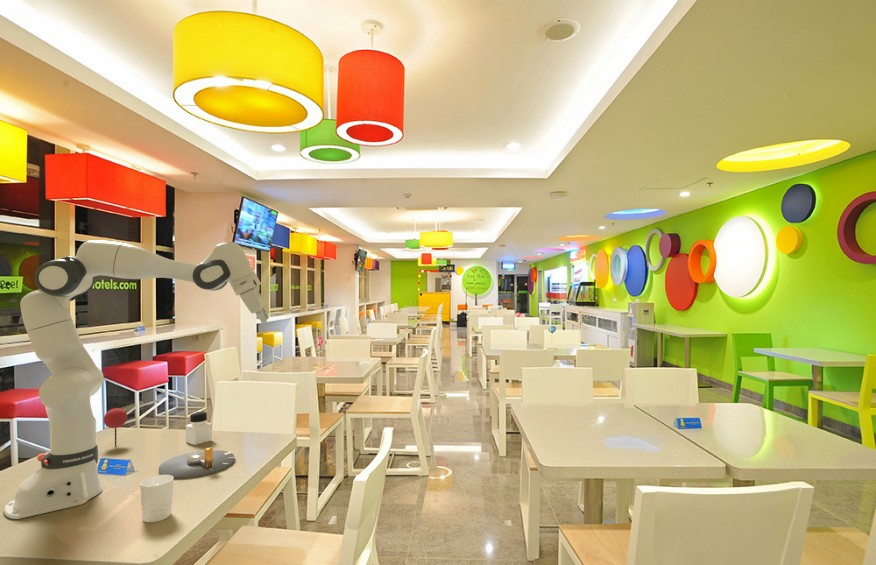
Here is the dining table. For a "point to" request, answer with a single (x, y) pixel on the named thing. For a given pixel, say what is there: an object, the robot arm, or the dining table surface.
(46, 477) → the robot arm
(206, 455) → the dial
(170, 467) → the dial plate
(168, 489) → the white cup
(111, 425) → the lollipop
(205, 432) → the white square bottle
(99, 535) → the dining table surface
